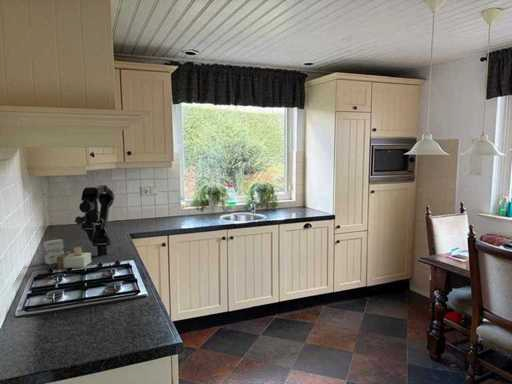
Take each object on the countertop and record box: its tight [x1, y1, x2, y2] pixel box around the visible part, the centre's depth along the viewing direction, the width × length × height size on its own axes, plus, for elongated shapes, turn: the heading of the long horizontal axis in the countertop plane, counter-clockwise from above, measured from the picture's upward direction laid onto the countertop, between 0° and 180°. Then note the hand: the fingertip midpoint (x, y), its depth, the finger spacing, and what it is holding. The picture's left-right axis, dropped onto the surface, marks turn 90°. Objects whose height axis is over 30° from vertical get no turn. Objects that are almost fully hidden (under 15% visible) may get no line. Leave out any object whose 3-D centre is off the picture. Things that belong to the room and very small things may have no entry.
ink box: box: [43, 238, 65, 265], centre depth 207 cm, size 9×5×12 cm, turn 141°
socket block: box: [62, 252, 92, 269], centre depth 195 cm, size 10×10×5 cm
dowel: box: [73, 246, 83, 256], centre depth 195 cm, size 4×4×8 cm
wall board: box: [56, 250, 73, 270], centre depth 196 cm, size 13×32×7 cm, turn 94°
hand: (93, 239), depth 206 cm, fingers open, 9 cm apart
